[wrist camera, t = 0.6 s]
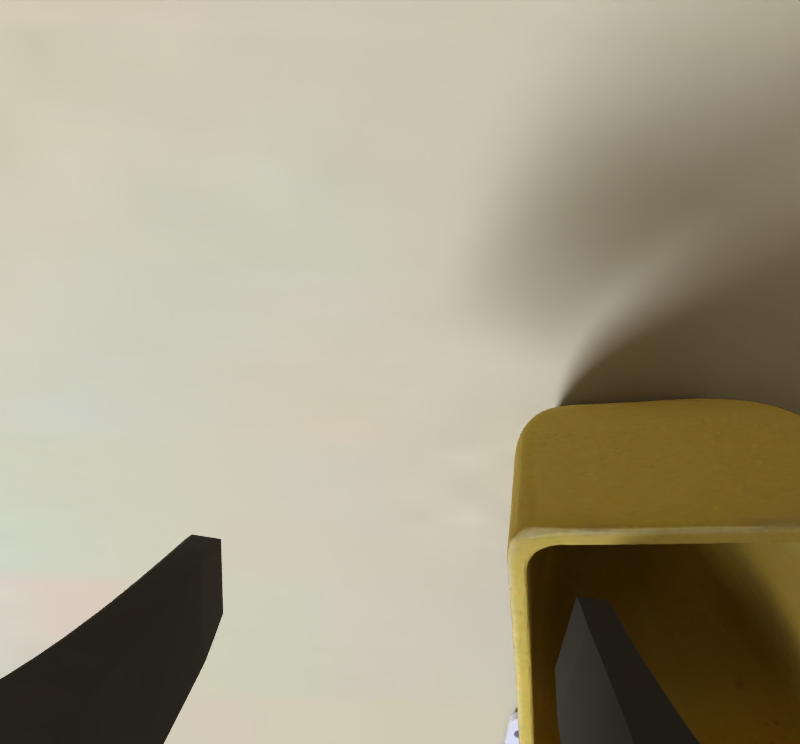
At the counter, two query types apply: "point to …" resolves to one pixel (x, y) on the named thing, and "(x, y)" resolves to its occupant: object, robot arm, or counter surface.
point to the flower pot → (664, 556)
